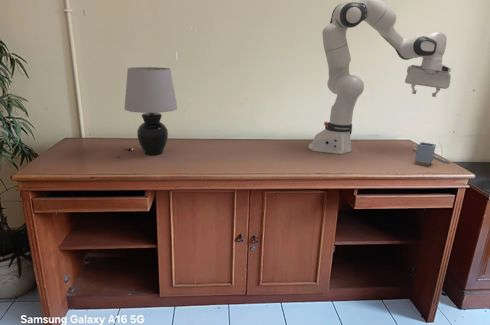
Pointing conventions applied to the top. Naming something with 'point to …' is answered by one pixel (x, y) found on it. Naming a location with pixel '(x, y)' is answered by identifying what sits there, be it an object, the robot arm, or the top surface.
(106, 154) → the top surface
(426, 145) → the collar
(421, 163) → the post stand
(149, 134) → the lamp
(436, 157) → the adjustable wrench
